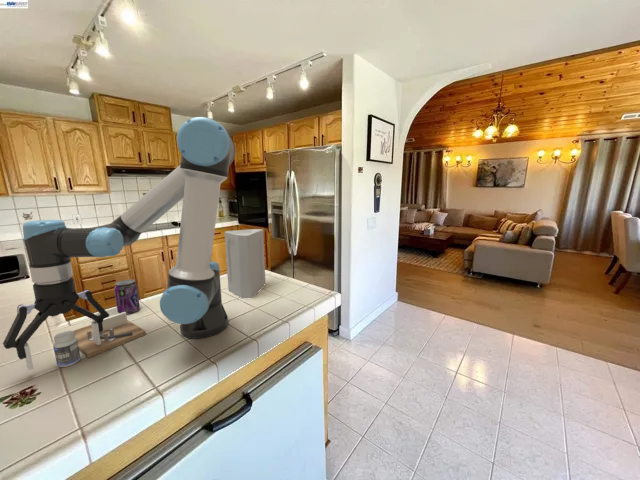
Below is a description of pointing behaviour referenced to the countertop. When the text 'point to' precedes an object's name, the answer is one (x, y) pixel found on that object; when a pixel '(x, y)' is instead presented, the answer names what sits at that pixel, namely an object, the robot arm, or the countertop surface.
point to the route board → (105, 338)
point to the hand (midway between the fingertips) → (66, 354)
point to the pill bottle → (66, 349)
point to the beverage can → (126, 296)
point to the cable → (117, 335)
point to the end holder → (113, 319)
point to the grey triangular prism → (245, 261)
